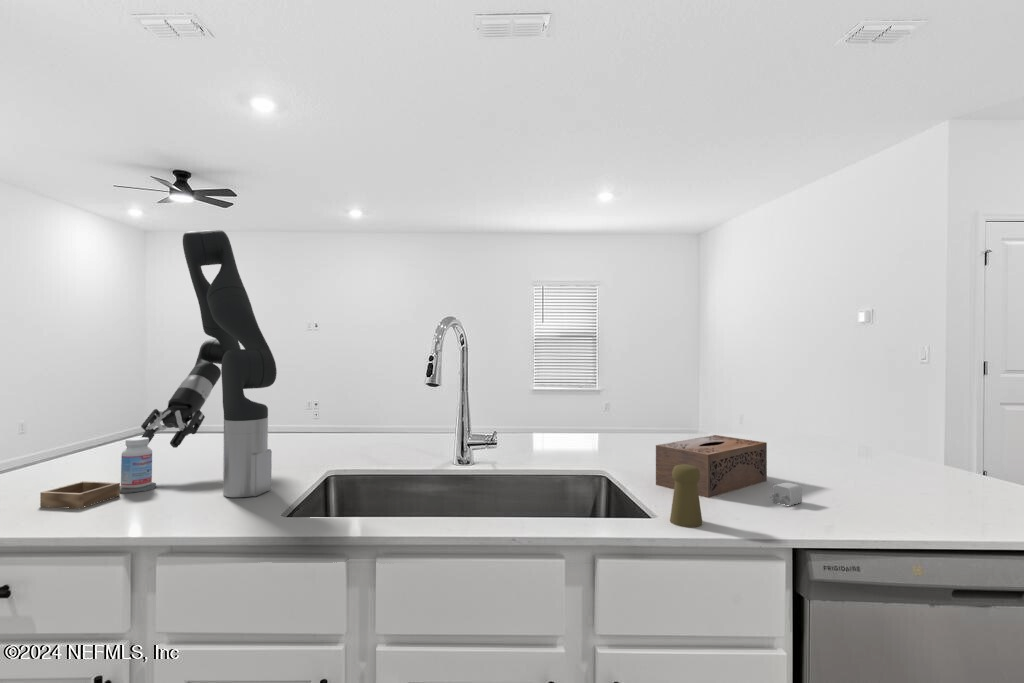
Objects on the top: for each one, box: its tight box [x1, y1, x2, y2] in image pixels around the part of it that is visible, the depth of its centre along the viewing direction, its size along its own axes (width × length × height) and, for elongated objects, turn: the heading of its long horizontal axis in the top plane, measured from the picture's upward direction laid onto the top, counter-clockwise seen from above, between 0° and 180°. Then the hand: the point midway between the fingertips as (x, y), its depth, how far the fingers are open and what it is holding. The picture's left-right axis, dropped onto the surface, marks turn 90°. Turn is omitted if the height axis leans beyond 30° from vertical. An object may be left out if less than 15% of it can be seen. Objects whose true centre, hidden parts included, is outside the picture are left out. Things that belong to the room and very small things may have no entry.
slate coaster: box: [120, 481, 157, 494], centre depth 128 cm, size 8×8×1 cm
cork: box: [669, 464, 703, 528], centre depth 105 cm, size 6×6×11 cm
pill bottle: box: [120, 436, 153, 488], centre depth 129 cm, size 6×6×11 cm
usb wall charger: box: [769, 482, 803, 507], centre depth 117 cm, size 4×7×4 cm, turn 122°
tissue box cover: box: [655, 434, 768, 499], centre depth 135 cm, size 26×14×10 cm, turn 127°
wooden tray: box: [39, 480, 121, 509], centre depth 118 cm, size 10×10×3 cm
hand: (157, 445), depth 135 cm, fingers open, 8 cm apart
